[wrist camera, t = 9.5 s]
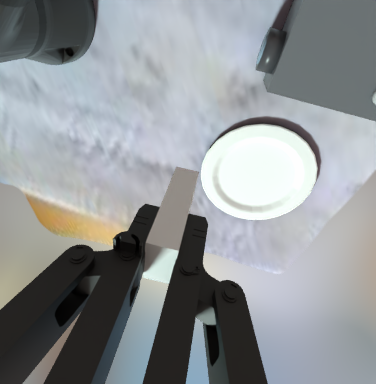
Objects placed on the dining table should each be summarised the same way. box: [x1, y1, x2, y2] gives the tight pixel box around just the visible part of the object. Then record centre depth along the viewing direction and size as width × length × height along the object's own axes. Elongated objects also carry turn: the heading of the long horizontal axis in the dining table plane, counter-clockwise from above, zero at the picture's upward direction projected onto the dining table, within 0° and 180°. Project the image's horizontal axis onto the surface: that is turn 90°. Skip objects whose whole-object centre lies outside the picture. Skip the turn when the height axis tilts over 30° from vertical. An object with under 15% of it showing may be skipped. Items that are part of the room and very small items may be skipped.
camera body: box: [256, 0, 376, 121], centre depth 30 cm, size 18×11×8 cm, turn 78°
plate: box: [201, 123, 318, 220], centre depth 46 cm, size 21×21×2 cm
